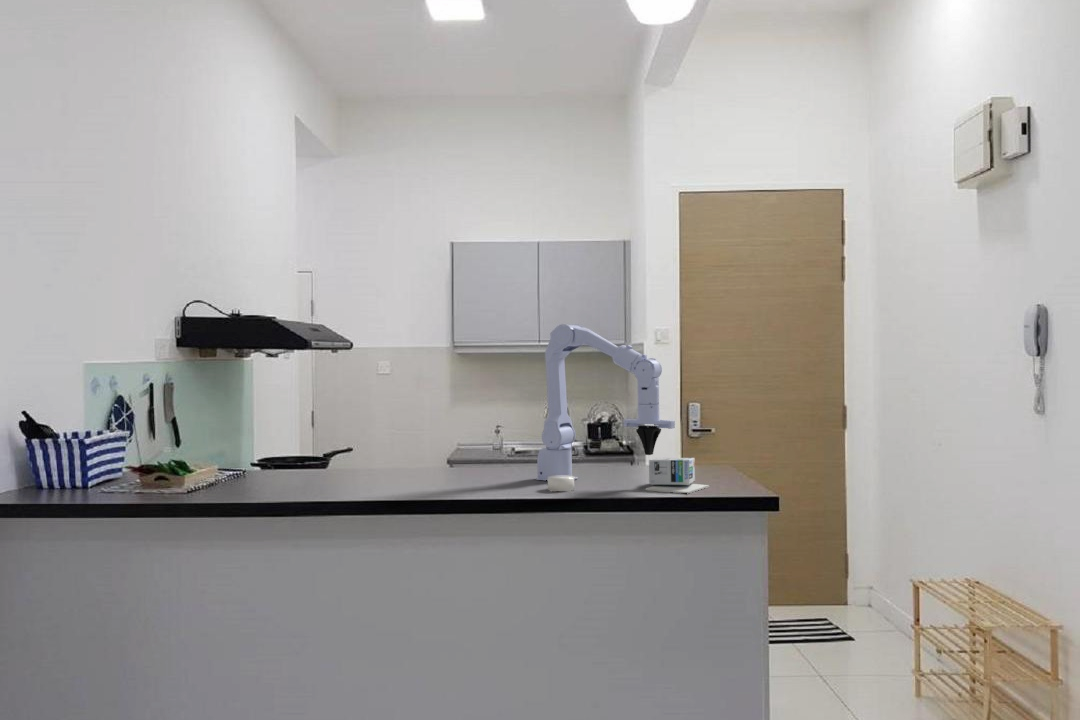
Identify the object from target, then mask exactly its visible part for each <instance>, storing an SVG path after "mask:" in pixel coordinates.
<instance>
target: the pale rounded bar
mask: <svg viewBox="0 0 1080 720" xmlns="http://www.w3.org/2000/svg"><path fill="white" fill-rule="evenodd" d="M574 477H575V476H574V475H572V476H569V475H554V476H549V477H548V481H547V491H548V490H552V491H569V492H572V491H571V490H574V491H575V479H574ZM552 491H551V492H552Z"/></svg>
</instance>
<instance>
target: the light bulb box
mask: <svg viewBox="0 0 1080 720" xmlns="http://www.w3.org/2000/svg"><path fill="white" fill-rule="evenodd" d="M695 463H696V459H695V457H666V458H665V457H658V458H657V457H655V458H651V459H649V460H648V476H649V477H648V483H649V485H653V486H656V485H690V484H693V483H694V482H696V469H695V467H696V464H695Z"/></svg>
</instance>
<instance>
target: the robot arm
mask: <svg viewBox="0 0 1080 720" xmlns="http://www.w3.org/2000/svg"><path fill="white" fill-rule="evenodd" d="M583 345H584V346H585V345H586V346H589V347H591V348H594V349H595V350H597V351H600V352H602V353H604V354H606V355H607V356H610V357H611V358H612V362H613V364H615V365H617V366H618V367H620V368H622V369H624V370H626V371H628V372H630V373H631V374H633V375H634V377H635V378H636V379H637V419H636V418H633V419H631V418H630V419H629V418H626V419H623V420H622V421H623V422H622V424H623V428H625V427H626V428H627V427H631V428H636V431H635V432H636V434H638V437H639V439H640V442H641V445H642V447H643V451H644V454H645V456H651V455H654V451H655V446H656V443H657V440H658V438H659V435H660V434H661V432H662V429H670V430H671V429H672V430H673V429H676V428H675V425H676V423H675V422H676V421H675V420H664V419H663V420H662V419H660V386H659V385H660V381H659V380H660V379H659V378H660V376H661V375H662V372H663V371H662V370H663V368H662V365H661V363H660V362H659V361H658V360H657V359H656V358H653V357H652V358H648V355H647V354H645V353H643V354H642V353H640V352H638V351H637V350H635V349H633V346H632V345H630V344H626V345H625V344H622V345H619V346H618V345H616V344H614V343H613V342H611V341H610V340H608V339H606V338H604V337H603V336H601V335H599V334H598V333H597V332H594V331H593V330H592V329H590V328H588V327H584V326H583V325H580V324H564V323H562V324H559V325H557V326H556V327H555V328H554V329H553V330H552V331H551V332H550V339H549V341H548V344H547V346H546V349H545V352H544V359H545V377H546V379H545V381H546V393H547V394H546V396H547V412H548V415H547V417H546V418H545V420H544V422H543V430H542V432H541V440H542V443H543V445H544V446H545V447H543V448H540V449H539V450H538V453H537V462H536V465H537V467H536V469H537V472H536V473H537V477H536V478H535V479H536V480H537V481H546V480H547V481H546V482H548V477H549V476H554V475H569V476H573V473H572V472H573V463H572V462H573V460H572V459H573V454H572V452H573V451H572V449H573V447H572V444H573V443H574V442H575V439H576V437H577V436H576V431H575V428H574V427H573V421H572V418H571V417H570V415H569V413H568V399H567V397H568V395H567V382H566V381H567V380H566V367H565V364H566V362H565V359H566V358H567V357H568V356H569V354H571V352H572V351H574V350H576V349H578V348H580V347H582V346H583ZM577 478H578V479H579V477H578V476H574V480H577Z"/></svg>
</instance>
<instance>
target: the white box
mask: <svg viewBox="0 0 1080 720" xmlns="http://www.w3.org/2000/svg"><path fill="white" fill-rule="evenodd" d="M704 488H705V489H707V488H710V485H709V484H697V483H691V484H690V485H653V486H650V487H646V488H645V491H648V492H649V491H650V492H661V493H670V492H673V493H672V494H681V493H687V494H686V495H689V494H688V493H690V494H693V493H696V492H698V490H699V491H702V490H704ZM701 489H702V490H701ZM695 491H696V492H695ZM692 492H693V493H692Z"/></svg>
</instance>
